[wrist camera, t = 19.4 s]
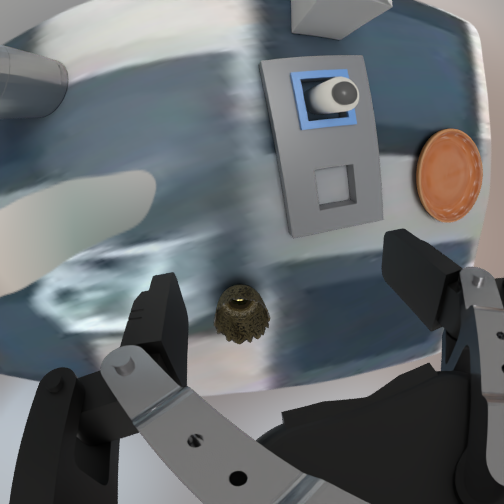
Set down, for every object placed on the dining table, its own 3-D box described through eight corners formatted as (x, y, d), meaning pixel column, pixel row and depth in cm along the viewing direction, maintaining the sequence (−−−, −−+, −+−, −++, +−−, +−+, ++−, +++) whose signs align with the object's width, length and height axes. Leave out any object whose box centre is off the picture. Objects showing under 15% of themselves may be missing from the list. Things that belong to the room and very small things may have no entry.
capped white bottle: (306, 116, 36) (332, 112, 27) (300, 88, 34) (325, 76, 25) (333, 113, 36) (366, 109, 27) (328, 86, 34) (359, 74, 25)
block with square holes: (289, 232, 42) (294, 240, 39) (258, 65, 33) (261, 59, 30) (375, 215, 42) (385, 221, 39) (355, 58, 33) (365, 54, 30)
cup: (272, 293, 46) (281, 323, 39) (237, 319, 47) (240, 352, 40) (240, 261, 43) (244, 289, 36) (205, 291, 45) (202, 322, 37)
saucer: (425, 233, 45) (435, 240, 42) (395, 151, 39) (405, 153, 36) (479, 191, 43) (489, 195, 40) (456, 114, 37) (468, 115, 34)
